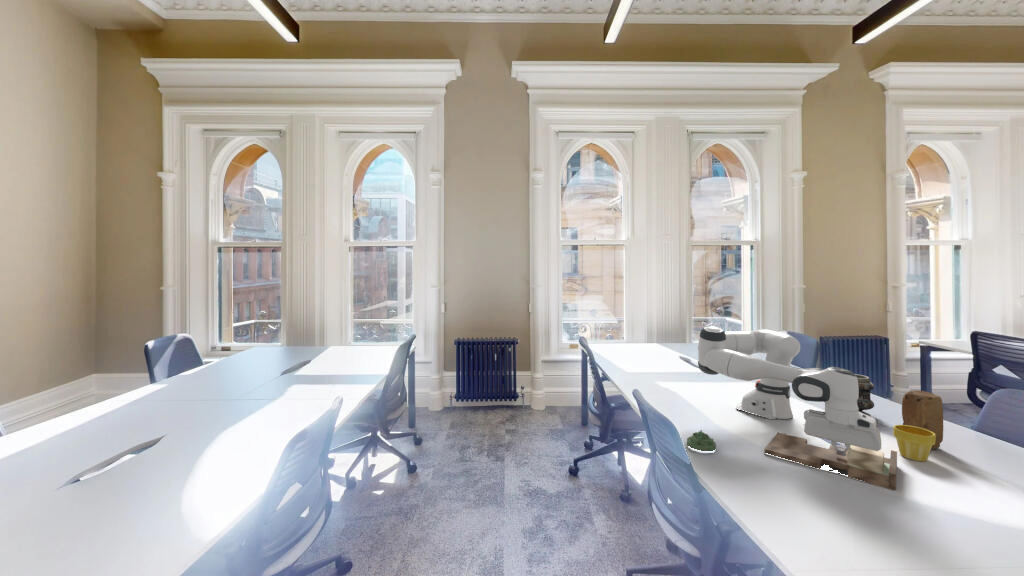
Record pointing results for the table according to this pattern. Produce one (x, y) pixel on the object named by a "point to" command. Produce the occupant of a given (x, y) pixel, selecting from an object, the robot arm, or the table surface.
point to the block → (924, 413)
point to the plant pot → (914, 441)
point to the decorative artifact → (701, 442)
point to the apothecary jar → (864, 394)
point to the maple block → (866, 458)
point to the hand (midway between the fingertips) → (840, 454)
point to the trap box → (831, 460)
